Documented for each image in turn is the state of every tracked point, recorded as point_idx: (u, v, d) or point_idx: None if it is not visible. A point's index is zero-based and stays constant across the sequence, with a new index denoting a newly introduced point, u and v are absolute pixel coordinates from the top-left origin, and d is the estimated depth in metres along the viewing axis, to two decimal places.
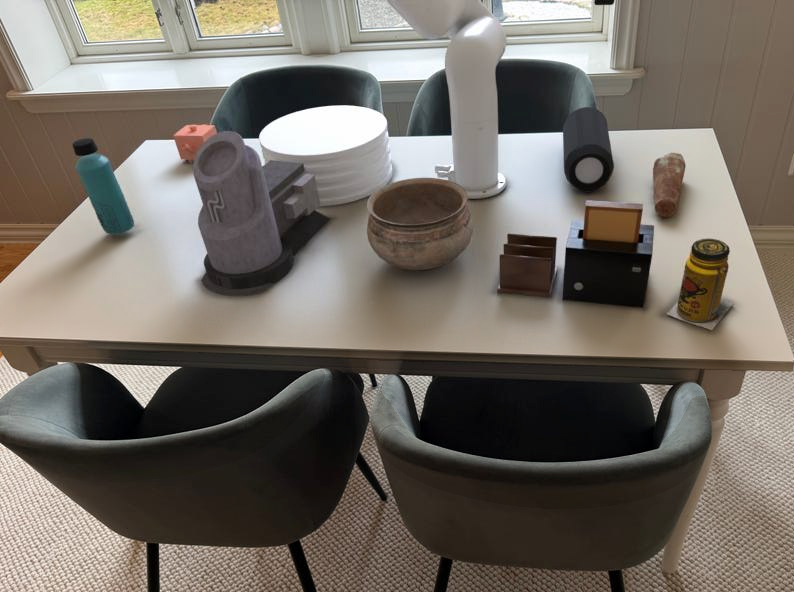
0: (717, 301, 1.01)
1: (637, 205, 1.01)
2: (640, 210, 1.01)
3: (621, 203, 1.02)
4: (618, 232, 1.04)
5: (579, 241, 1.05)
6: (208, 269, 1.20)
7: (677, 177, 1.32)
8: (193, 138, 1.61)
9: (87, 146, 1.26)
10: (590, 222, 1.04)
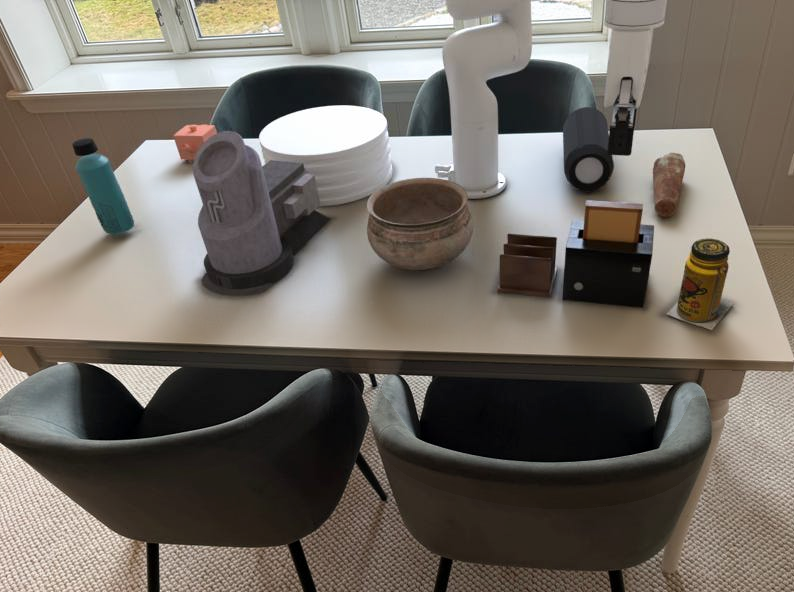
0: (717, 301, 1.01)
1: (637, 205, 1.01)
2: (640, 210, 1.01)
3: (621, 203, 1.02)
4: (618, 232, 1.04)
5: (579, 241, 1.05)
6: (208, 269, 1.20)
7: (677, 177, 1.32)
8: (193, 138, 1.61)
9: (87, 146, 1.26)
10: (590, 222, 1.04)
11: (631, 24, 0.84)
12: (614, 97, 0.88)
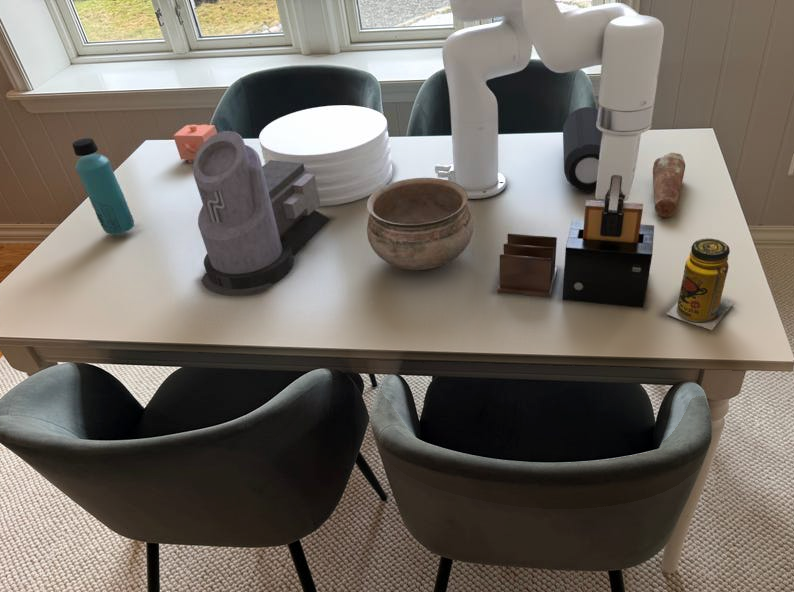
0: (717, 301, 1.01)
1: (637, 205, 1.01)
2: (640, 210, 1.01)
3: None
4: None
5: (579, 241, 1.05)
6: (208, 269, 1.20)
7: (677, 177, 1.32)
8: (193, 138, 1.61)
9: (87, 146, 1.26)
10: (590, 222, 1.04)
11: (620, 130, 0.91)
12: (605, 192, 0.96)
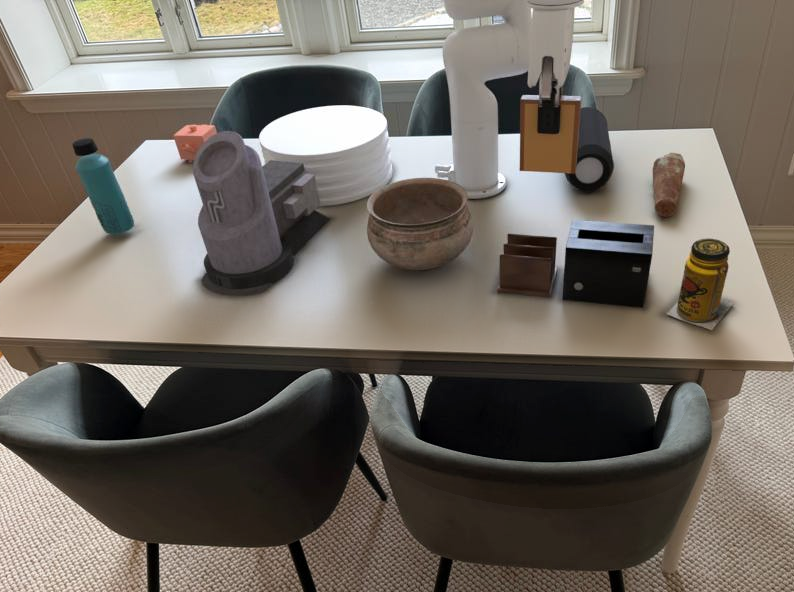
0: (717, 301, 1.01)
1: (575, 97, 0.95)
2: (577, 102, 0.94)
3: None
4: None
5: (579, 241, 1.05)
6: (208, 269, 1.20)
7: (677, 177, 1.32)
8: (193, 138, 1.61)
9: (87, 146, 1.26)
10: (526, 119, 0.98)
11: (549, 3, 0.85)
12: (536, 76, 0.90)
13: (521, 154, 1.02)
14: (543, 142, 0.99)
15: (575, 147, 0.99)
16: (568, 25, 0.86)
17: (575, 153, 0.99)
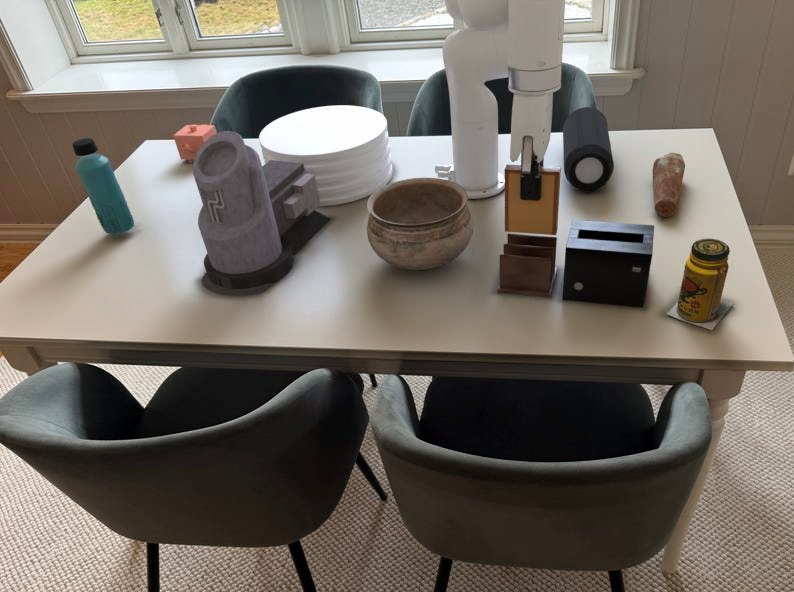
0: (717, 301, 1.01)
1: (554, 168, 1.03)
2: (557, 173, 1.02)
3: None
4: None
5: (579, 241, 1.05)
6: (208, 269, 1.20)
7: (677, 177, 1.32)
8: (193, 138, 1.61)
9: (87, 146, 1.26)
10: (510, 186, 1.06)
11: (528, 90, 0.93)
12: (518, 153, 0.97)
13: (506, 217, 1.09)
14: (526, 207, 1.07)
15: (555, 212, 1.06)
16: (546, 108, 0.94)
17: (555, 217, 1.07)
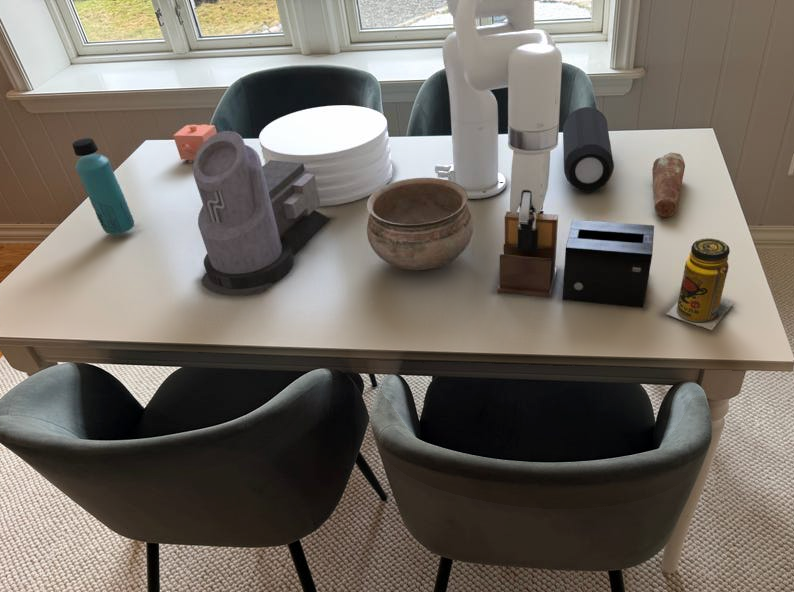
0: (717, 301, 1.01)
1: (552, 216, 1.08)
2: (554, 221, 1.07)
3: (538, 214, 1.09)
4: None
5: (579, 241, 1.05)
6: (208, 269, 1.20)
7: (677, 177, 1.32)
8: (193, 138, 1.61)
9: (87, 146, 1.26)
10: (510, 232, 1.11)
11: (527, 148, 0.98)
12: (517, 205, 1.03)
13: None
14: None
15: None
16: (544, 165, 1.00)
17: (553, 261, 1.12)
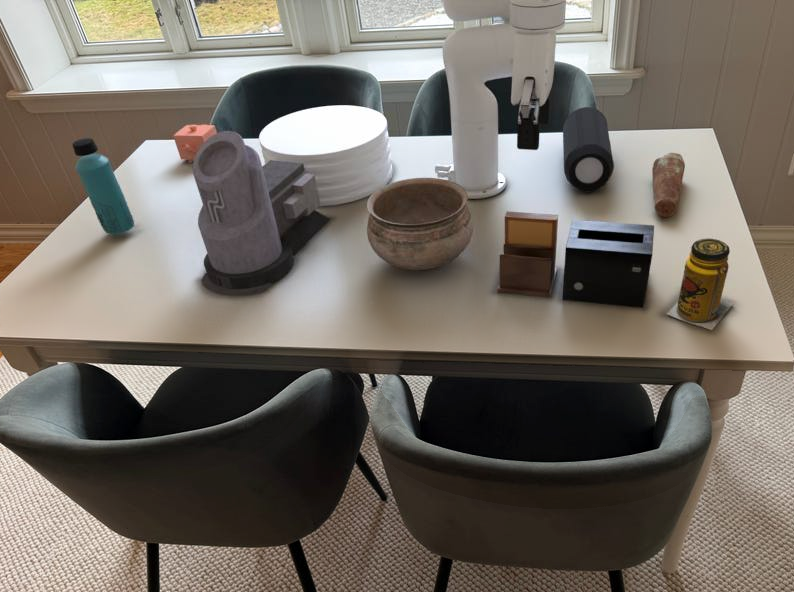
0: (717, 301, 1.01)
1: (552, 216, 1.08)
2: (554, 221, 1.07)
3: (538, 214, 1.09)
4: (536, 241, 1.11)
5: (579, 241, 1.05)
6: (208, 269, 1.20)
7: (677, 177, 1.32)
8: (193, 138, 1.61)
9: (87, 146, 1.26)
10: (510, 232, 1.11)
11: (531, 28, 0.90)
12: (519, 95, 0.95)
13: None
14: None
15: None
16: (549, 48, 0.91)
17: (553, 261, 1.12)
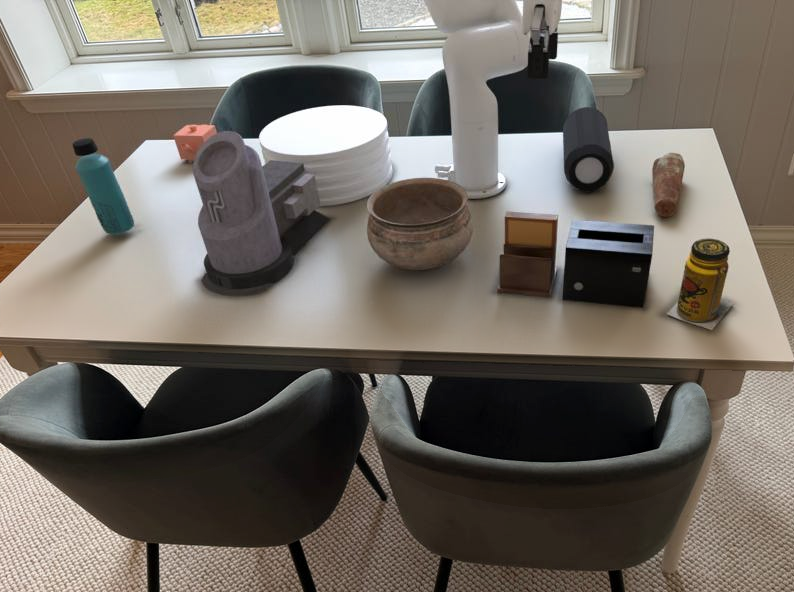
0: (717, 301, 1.01)
1: (552, 216, 1.08)
2: (554, 221, 1.07)
3: (538, 214, 1.09)
4: (536, 241, 1.11)
5: (579, 241, 1.05)
6: (208, 269, 1.20)
7: (677, 177, 1.32)
8: (193, 138, 1.61)
9: (87, 146, 1.26)
10: (510, 232, 1.11)
11: None
12: (530, 23, 1.00)
13: None
14: None
15: None
16: None
17: (553, 261, 1.12)
